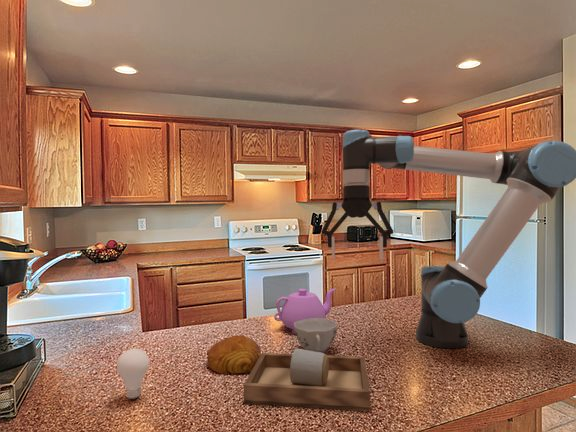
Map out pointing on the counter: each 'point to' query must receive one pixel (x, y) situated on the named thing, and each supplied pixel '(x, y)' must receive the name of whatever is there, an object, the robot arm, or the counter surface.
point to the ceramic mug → (309, 367)
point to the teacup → (315, 333)
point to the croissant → (234, 355)
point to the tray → (333, 395)
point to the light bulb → (133, 370)
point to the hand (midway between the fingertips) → (357, 259)
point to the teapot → (302, 307)
